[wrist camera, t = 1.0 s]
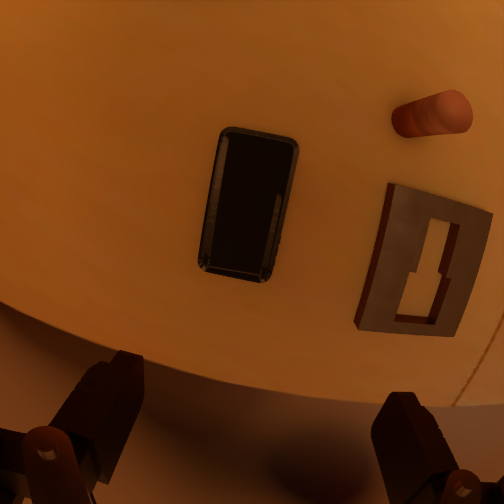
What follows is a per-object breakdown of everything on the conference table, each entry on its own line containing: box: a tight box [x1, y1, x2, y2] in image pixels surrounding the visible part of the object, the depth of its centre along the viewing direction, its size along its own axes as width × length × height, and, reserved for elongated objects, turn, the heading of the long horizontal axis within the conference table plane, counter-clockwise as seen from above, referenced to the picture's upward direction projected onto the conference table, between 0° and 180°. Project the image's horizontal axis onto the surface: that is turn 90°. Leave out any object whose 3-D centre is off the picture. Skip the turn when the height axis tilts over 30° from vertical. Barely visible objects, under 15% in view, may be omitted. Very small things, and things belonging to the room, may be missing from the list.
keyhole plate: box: [354, 183, 493, 337], centre depth 31 cm, size 16×14×2 cm
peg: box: [392, 90, 473, 138], centre depth 23 cm, size 4×4×10 cm
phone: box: [198, 127, 299, 283], centre depth 31 cm, size 8×1×15 cm
